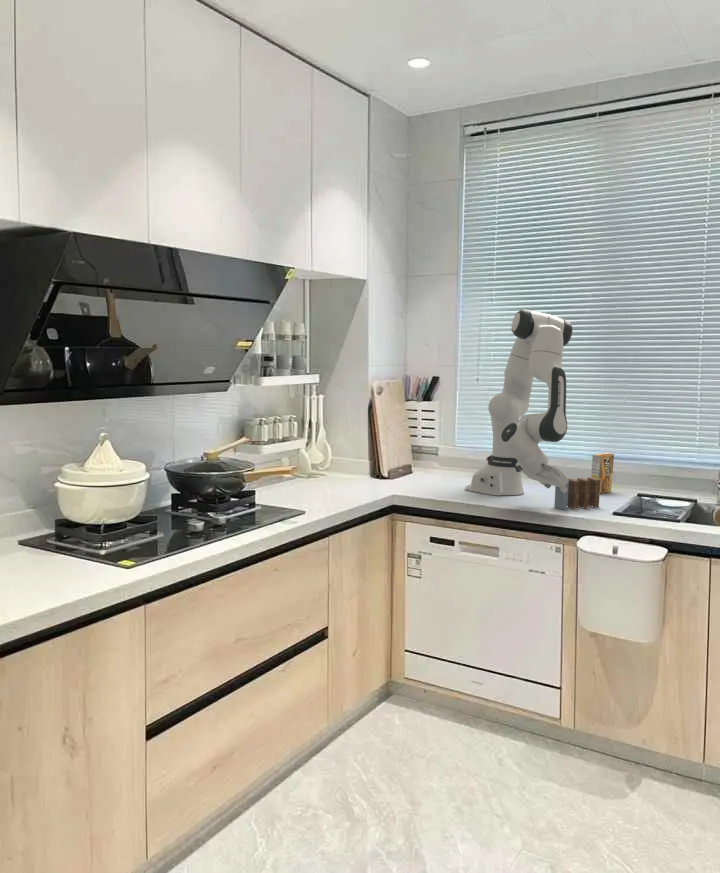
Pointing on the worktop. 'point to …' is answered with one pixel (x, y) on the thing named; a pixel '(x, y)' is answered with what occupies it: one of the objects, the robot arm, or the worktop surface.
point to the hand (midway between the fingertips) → (557, 489)
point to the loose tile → (561, 498)
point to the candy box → (603, 470)
